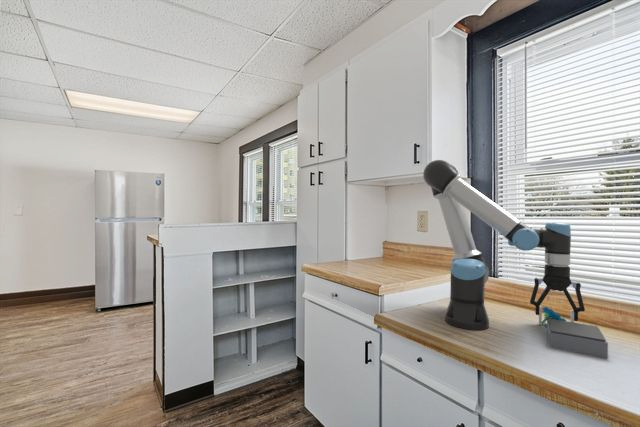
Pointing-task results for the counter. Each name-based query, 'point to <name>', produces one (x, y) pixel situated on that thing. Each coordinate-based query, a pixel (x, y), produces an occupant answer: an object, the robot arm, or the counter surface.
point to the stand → (576, 338)
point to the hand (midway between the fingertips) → (555, 326)
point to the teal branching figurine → (551, 315)
